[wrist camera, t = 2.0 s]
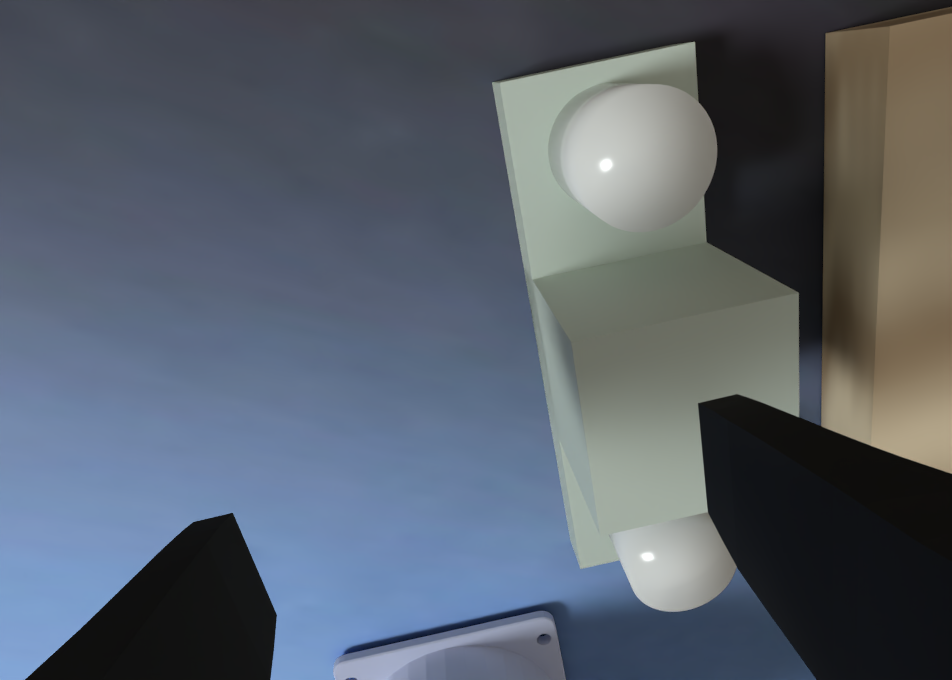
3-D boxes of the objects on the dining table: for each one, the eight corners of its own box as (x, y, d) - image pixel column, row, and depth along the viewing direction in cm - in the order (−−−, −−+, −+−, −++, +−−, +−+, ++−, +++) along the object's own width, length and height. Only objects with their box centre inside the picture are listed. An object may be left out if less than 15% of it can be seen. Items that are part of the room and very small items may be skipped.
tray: (704, 508, 23) (799, 646, 17) (569, 539, 23) (622, 687, 17) (671, 44, 17) (797, 29, 12) (492, 82, 17) (533, 84, 12)
